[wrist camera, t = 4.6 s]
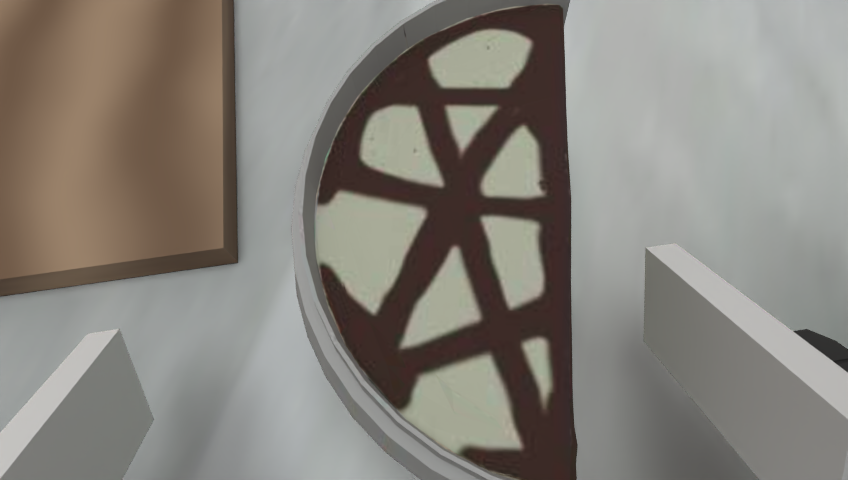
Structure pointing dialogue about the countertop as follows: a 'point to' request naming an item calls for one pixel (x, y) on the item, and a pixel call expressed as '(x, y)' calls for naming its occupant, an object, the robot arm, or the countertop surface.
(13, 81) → the walnut board
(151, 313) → the countertop surface
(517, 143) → the food container
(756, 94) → the countertop surface
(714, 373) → the robot arm
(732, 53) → the countertop surface
